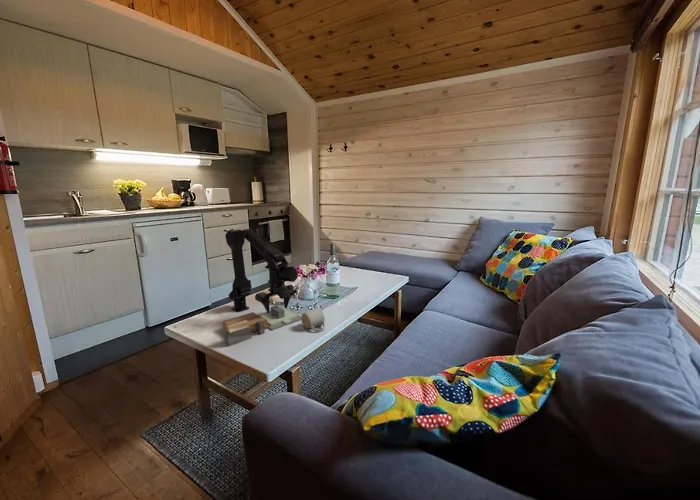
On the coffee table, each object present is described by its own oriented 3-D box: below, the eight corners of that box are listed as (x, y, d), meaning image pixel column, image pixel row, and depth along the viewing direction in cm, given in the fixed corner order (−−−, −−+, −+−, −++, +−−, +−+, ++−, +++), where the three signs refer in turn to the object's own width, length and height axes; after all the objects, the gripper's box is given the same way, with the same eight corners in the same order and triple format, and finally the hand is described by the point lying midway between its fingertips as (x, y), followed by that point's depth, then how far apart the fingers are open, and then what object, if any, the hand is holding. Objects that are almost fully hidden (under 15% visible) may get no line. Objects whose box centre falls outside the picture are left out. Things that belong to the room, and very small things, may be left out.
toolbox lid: (257, 317, 147) (256, 309, 146) (283, 309, 157) (283, 301, 156) (275, 328, 137) (274, 318, 136) (301, 318, 146) (301, 309, 146)
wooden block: (227, 331, 124) (226, 326, 124) (246, 324, 130) (245, 320, 129) (229, 333, 123) (229, 328, 122) (249, 326, 128) (248, 321, 128)
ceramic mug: (300, 326, 140) (299, 309, 139) (315, 320, 145) (315, 305, 144) (313, 335, 132) (313, 317, 131) (329, 329, 138) (329, 312, 136)
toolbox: (213, 333, 133) (212, 322, 132) (253, 320, 146) (253, 310, 145) (229, 346, 123) (228, 334, 122) (271, 330, 136) (270, 320, 135)
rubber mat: (251, 318, 148) (251, 316, 148) (282, 308, 160) (282, 307, 160) (272, 330, 136) (272, 329, 136) (304, 318, 148) (304, 317, 148)
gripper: (266, 287, 132) (268, 322, 135) (303, 278, 145) (304, 310, 148) (253, 281, 140) (255, 314, 143) (289, 273, 153) (290, 303, 156)
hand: (277, 310), depth 147 cm, fingers open, 9 cm apart
